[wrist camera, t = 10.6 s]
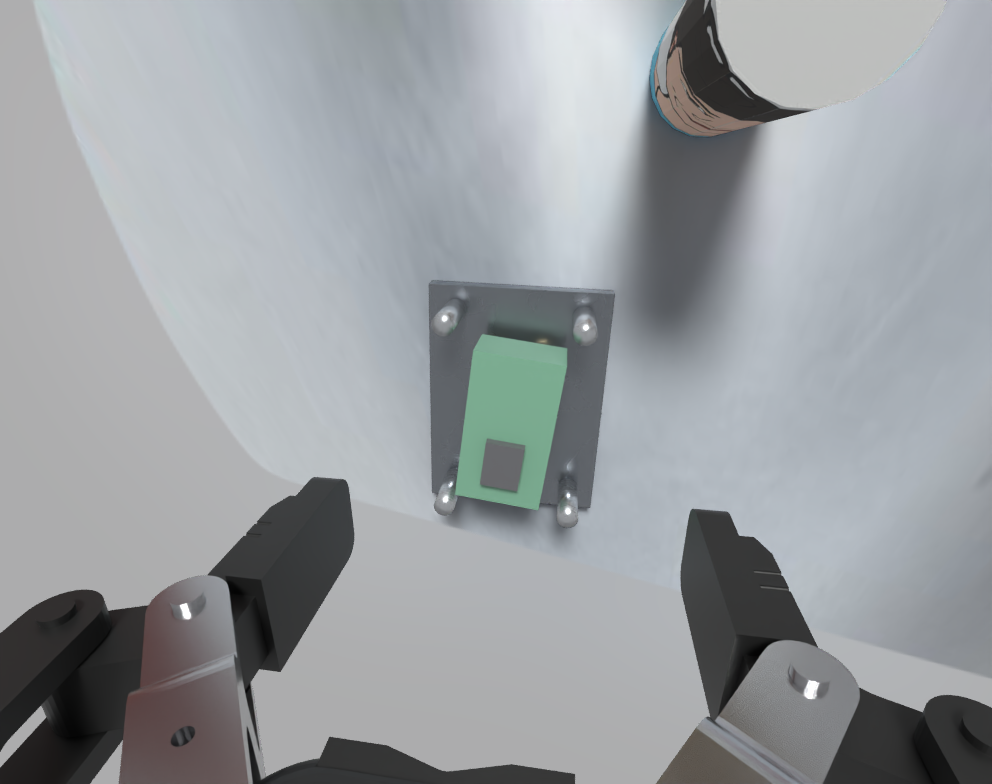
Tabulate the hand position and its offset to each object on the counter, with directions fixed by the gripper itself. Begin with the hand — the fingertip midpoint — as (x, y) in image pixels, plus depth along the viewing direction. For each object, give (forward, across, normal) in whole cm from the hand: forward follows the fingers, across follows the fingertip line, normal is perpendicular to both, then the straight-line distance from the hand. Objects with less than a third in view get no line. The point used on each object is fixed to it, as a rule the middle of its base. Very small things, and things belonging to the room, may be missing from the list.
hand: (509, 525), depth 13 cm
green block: (+22, +3, +7) cm, 24 cm away
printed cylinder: (+26, -8, -13) cm, 30 cm away
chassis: (+25, +3, +7) cm, 26 cm away
